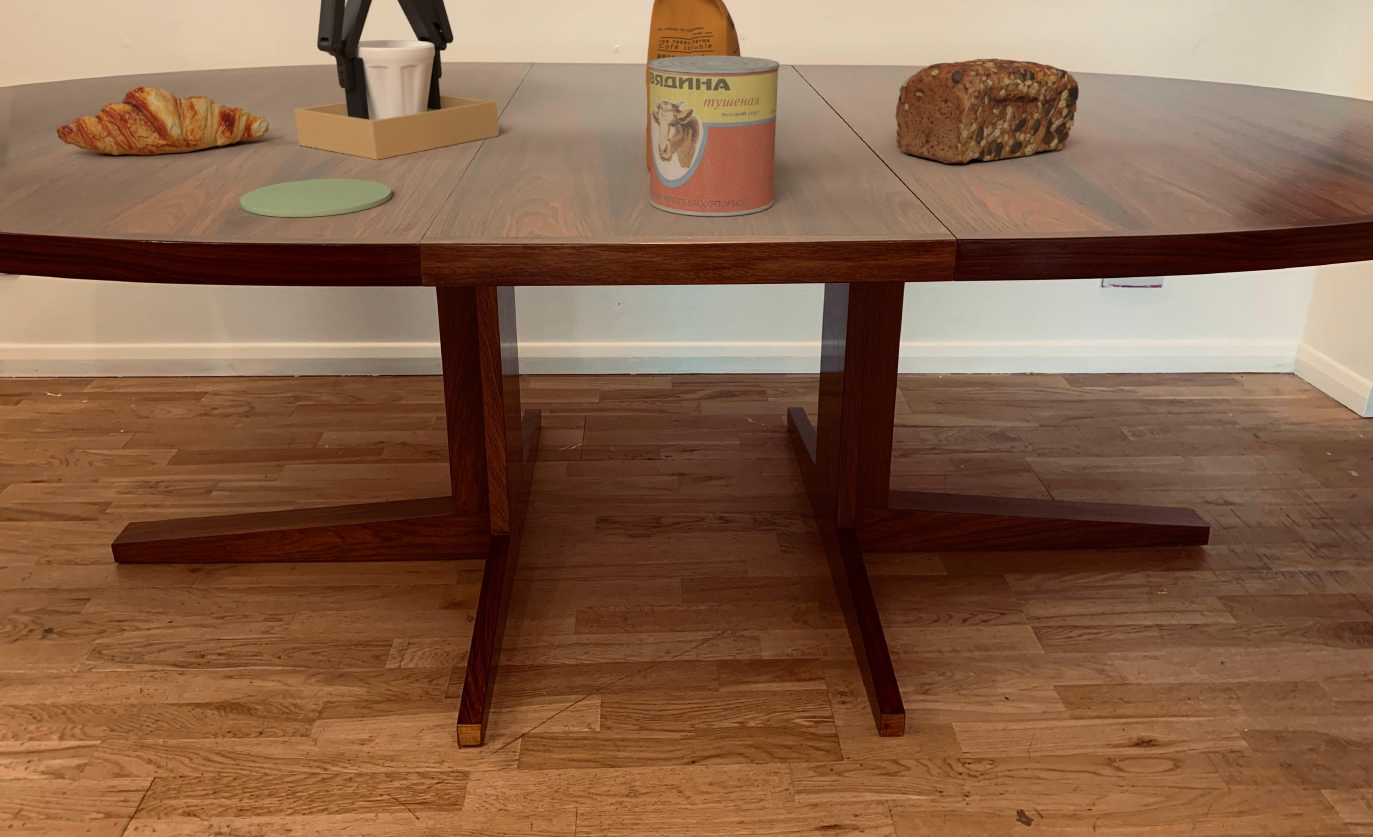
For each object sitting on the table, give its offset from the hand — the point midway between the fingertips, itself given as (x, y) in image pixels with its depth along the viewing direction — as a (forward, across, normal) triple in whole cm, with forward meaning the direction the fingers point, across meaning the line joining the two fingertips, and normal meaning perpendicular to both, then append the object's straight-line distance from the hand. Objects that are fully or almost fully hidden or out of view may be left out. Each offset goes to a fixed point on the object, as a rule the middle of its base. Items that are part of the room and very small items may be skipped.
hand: (396, 113), depth 117 cm
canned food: (+3, -3, -46) cm, 46 cm away
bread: (+3, +35, -57) cm, 67 cm away
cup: (+2, 0, 0) cm, 2 cm away
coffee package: (+3, +10, -35) cm, 37 cm away
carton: (+3, 0, 0) cm, 3 cm away
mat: (+3, -24, -17) cm, 29 cm away
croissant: (+4, -19, +16) cm, 25 cm away
